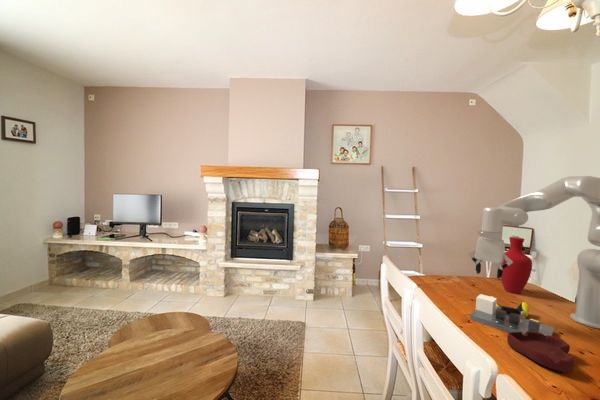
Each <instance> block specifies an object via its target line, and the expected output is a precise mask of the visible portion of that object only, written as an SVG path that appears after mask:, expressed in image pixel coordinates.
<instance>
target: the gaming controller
mask: <svg viewBox="0 0 600 400" xmlns="http://www.w3.org/2000/svg"><path fill="white" fill-rule="evenodd" d="M490 297H493V298H496V297H495V296H493V295H490ZM497 309H501V310H505V311H507V313H508V314H510V313H515V314H518V315H521V316H520V317H521V318H524V319H527V318H528V316H529V312H530V307H529V305H528V304H527V302H525V301H521V303H519V305H518V306H517V308H515V307H510V306H505V305H500V304H499V303H498V302H497V304H496V310H497Z"/></svg>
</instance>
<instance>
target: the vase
mask: <svg viewBox="0 0 600 400" xmlns="http://www.w3.org/2000/svg"><path fill="white" fill-rule="evenodd" d="M524 241H525V238H523V237H517V236H509V243H510V247H509V250H507V251H505V255H506V256H507V257H508V258H509V259H510V260H511V261H513V263H512V264H510V265H509V266H507V267H506V268H504V269H503V274H502V277H500V278H499V279H500V281H501V283H502V286H503V289H504V291H506V292H507V293H511V294H518V295H519V294H521V293H522V291H523V290H524V288H525V287H526V285H527V284H528V281H529V279H530V277H531V273H532V271H533V261H532V259H531V258H530V257H529V256H528V255H526V254H525V253H524V252H523V250H522V247H523V245H524ZM506 263H507V261H506V260H504V262H502V264H503V265H504V264H506ZM497 267H498V266H497ZM498 269H499V267H498V268H497V270H498Z"/></svg>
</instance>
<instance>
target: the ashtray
mask: <svg viewBox="0 0 600 400" xmlns="http://www.w3.org/2000/svg"><path fill="white" fill-rule="evenodd" d="M507 333H508V332H507ZM506 339H507V342H506V343H507V345H508V346H509V347H510V348H511V349H512V350H514V351H515V352H517V353H520V354H522V355H524V356H525V357H527V358H529V359H531V360H532V361H534V362H536V363H537V364H538V365H541V366H543V367H546V368H549V369H550V370H552V371H554V372H555V371H556V372H555V373H560V374H563V373H564V372H570V371H572V369H574V365H575V362H574V357H573V356H571V355H570V354H569V353H570V350H571V348H570V347H571V346H570V344H569V343H567V342H566V341H565V340H564V339H562V338H560V337H557V336H550V335H547V336H545V335H543V334H542V333H539V332H533V331H532V332H526V333H525V334H522V332H510V333H508V334H507V337H506Z"/></svg>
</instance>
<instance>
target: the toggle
mask: <svg viewBox="0 0 600 400" xmlns="http://www.w3.org/2000/svg"><path fill="white" fill-rule="evenodd" d="M528 320H529V325H528V329H530V330H533V331H536V332H539V330H540V323H541V320H537V319H534V318H531V317H530V318H529V319H528Z"/></svg>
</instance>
